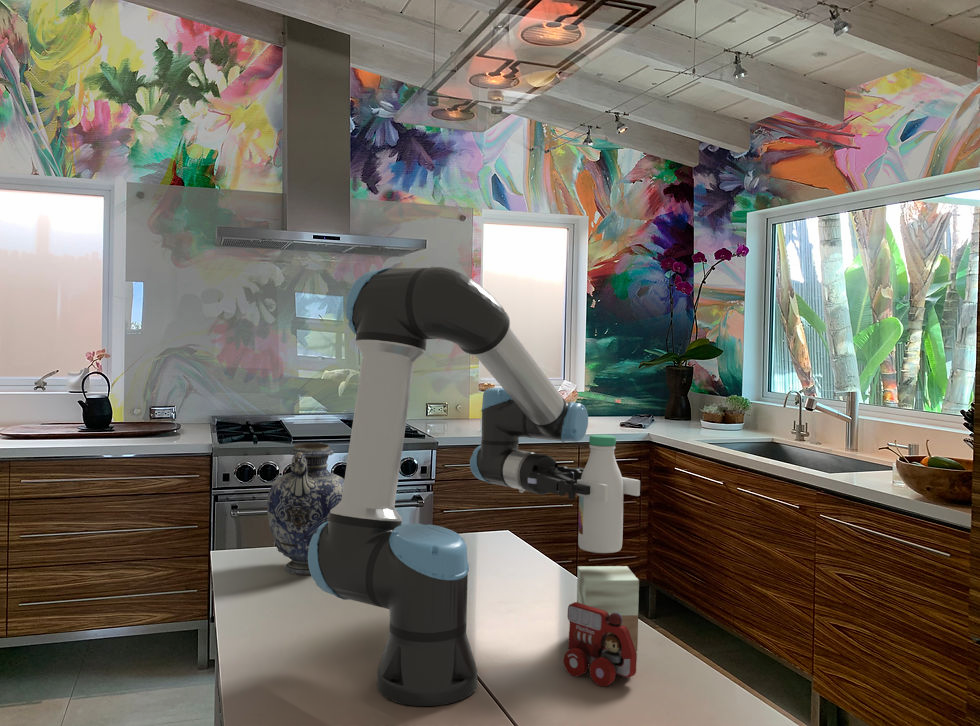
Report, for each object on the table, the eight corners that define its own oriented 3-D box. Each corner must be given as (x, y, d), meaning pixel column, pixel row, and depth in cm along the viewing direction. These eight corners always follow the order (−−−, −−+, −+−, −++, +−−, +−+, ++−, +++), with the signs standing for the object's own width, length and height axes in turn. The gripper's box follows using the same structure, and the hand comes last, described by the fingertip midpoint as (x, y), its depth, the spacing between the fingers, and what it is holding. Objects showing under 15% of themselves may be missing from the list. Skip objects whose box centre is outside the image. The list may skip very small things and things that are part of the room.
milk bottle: (630, 548, 144) (633, 435, 144) (606, 556, 138) (608, 439, 138) (594, 540, 149) (597, 431, 149) (569, 548, 144) (571, 435, 143)
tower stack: (637, 650, 139) (638, 580, 138) (584, 650, 138) (586, 580, 138) (625, 632, 147) (627, 566, 147) (576, 632, 147) (577, 566, 146)
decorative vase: (281, 554, 195) (284, 437, 194) (358, 557, 194) (361, 440, 193) (251, 581, 173) (254, 450, 172) (338, 585, 173) (341, 453, 172)
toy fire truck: (620, 694, 122) (621, 625, 121) (554, 670, 130) (556, 605, 130) (645, 680, 127) (647, 614, 126) (580, 658, 135) (582, 595, 135)
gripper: (569, 486, 164) (660, 505, 147) (490, 497, 151) (580, 520, 133) (569, 449, 164) (661, 463, 146) (491, 457, 151) (581, 474, 133)
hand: (622, 490), depth 140 cm, fingers closed on milk bottle, 8 cm apart
